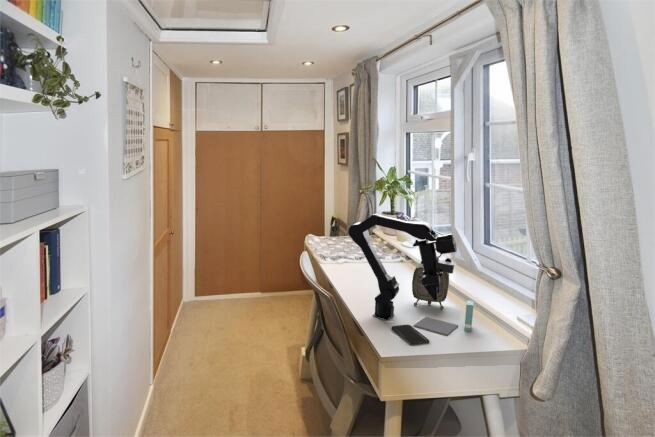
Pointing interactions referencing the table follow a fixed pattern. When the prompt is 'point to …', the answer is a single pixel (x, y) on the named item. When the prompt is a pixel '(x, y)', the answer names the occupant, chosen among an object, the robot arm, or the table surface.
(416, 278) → the tabletop clock
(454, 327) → the felt mat
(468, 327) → the box
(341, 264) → the table surface
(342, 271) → the table surface
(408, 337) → the phone
